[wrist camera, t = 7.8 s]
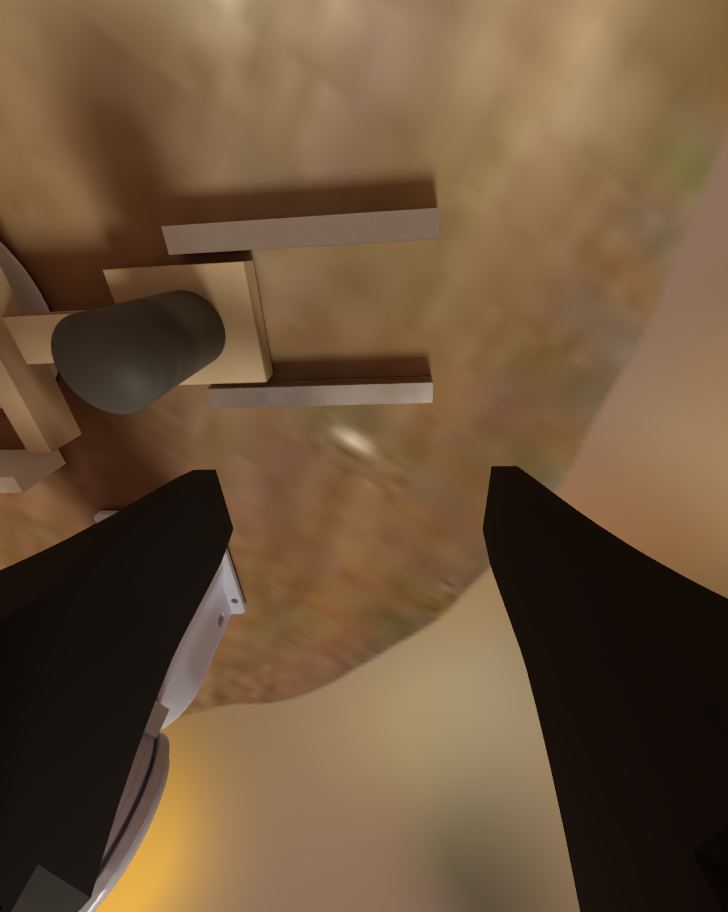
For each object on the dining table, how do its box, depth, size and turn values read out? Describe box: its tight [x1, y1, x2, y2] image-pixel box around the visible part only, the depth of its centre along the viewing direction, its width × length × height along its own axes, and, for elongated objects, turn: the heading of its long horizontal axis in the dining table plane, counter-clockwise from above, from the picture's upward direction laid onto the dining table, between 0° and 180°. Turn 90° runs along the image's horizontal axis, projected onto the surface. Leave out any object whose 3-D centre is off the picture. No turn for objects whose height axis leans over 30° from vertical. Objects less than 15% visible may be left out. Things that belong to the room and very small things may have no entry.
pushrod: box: [0, 261, 273, 453], centre depth 15 cm, size 10×12×7 cm
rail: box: [161, 208, 441, 408], centre depth 17 cm, size 8×11×1 cm
